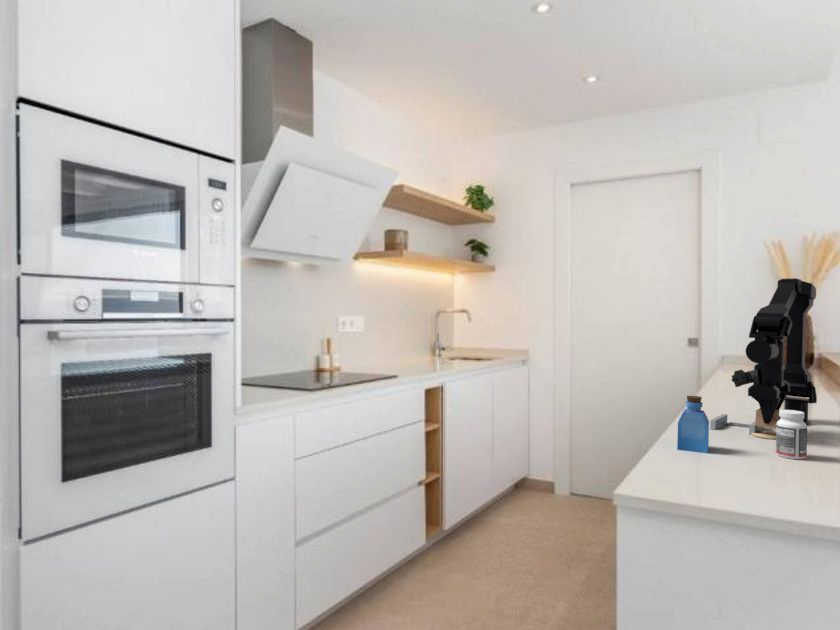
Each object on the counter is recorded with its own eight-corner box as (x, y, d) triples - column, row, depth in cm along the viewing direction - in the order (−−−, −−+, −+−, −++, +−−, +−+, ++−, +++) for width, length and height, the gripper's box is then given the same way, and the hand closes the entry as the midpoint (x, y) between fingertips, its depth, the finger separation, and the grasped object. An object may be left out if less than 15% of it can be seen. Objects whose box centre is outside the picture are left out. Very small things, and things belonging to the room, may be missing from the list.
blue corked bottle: (677, 449, 132) (678, 397, 132) (679, 444, 138) (680, 393, 138) (707, 453, 130) (708, 399, 129) (708, 447, 135) (709, 396, 135)
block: (759, 423, 152) (760, 408, 152) (782, 426, 148) (782, 410, 148) (755, 426, 148) (755, 410, 148) (778, 429, 145) (778, 413, 144)
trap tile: (730, 423, 164) (730, 422, 164) (758, 426, 159) (758, 425, 159) (727, 424, 162) (727, 423, 162) (755, 428, 157) (755, 427, 157)
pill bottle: (797, 453, 130) (798, 409, 130) (812, 460, 125) (813, 414, 124) (770, 452, 131) (771, 408, 131) (783, 459, 125) (785, 413, 125)
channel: (722, 422, 164) (722, 413, 164) (764, 428, 157) (764, 419, 157) (710, 429, 155) (710, 419, 155) (754, 435, 148) (754, 425, 148)
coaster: (754, 431, 154) (754, 428, 154) (789, 436, 148) (789, 433, 148) (747, 435, 148) (747, 433, 148) (783, 441, 142) (783, 438, 142)
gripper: (743, 356, 160) (742, 412, 160) (725, 360, 146) (724, 422, 146) (791, 359, 153) (789, 418, 153) (777, 364, 139) (775, 429, 139)
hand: (768, 422), depth 148 cm, fingers closed on block, 5 cm apart
